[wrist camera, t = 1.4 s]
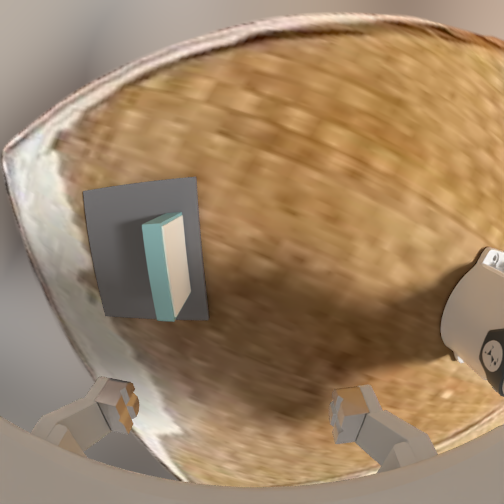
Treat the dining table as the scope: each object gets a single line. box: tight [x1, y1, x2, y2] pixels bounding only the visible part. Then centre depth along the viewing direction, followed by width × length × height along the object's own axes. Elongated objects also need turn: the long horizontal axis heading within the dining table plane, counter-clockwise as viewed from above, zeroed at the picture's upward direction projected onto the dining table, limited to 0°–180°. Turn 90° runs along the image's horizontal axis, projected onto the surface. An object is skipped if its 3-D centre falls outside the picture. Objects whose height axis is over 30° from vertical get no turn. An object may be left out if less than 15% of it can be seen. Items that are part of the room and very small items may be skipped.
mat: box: [83, 177, 209, 320], centre depth 30 cm, size 14×16×1 cm
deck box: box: [142, 212, 191, 321], centre depth 27 cm, size 2×9×6 cm, turn 3°
